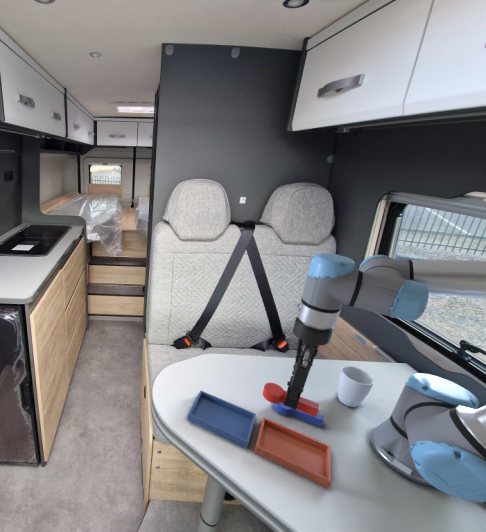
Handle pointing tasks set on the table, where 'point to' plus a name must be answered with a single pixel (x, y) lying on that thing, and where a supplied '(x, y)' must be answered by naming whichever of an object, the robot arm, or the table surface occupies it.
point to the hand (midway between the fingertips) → (290, 402)
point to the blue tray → (222, 418)
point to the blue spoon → (299, 414)
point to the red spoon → (278, 395)
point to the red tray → (295, 451)
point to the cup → (354, 385)
